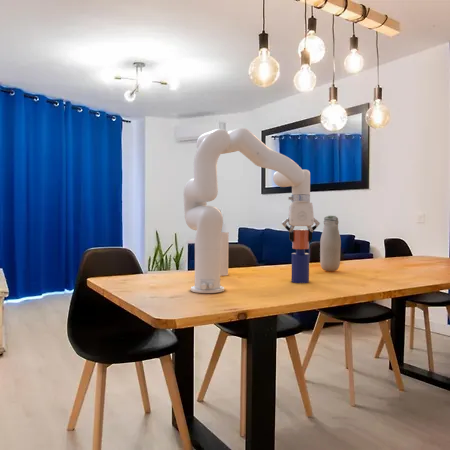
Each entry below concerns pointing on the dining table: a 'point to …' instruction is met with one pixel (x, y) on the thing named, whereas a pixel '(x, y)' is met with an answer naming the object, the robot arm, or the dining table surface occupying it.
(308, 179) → the robot arm
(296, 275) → the water bottle
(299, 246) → the cup
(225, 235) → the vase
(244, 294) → the dining table surface
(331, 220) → the grey bottle
